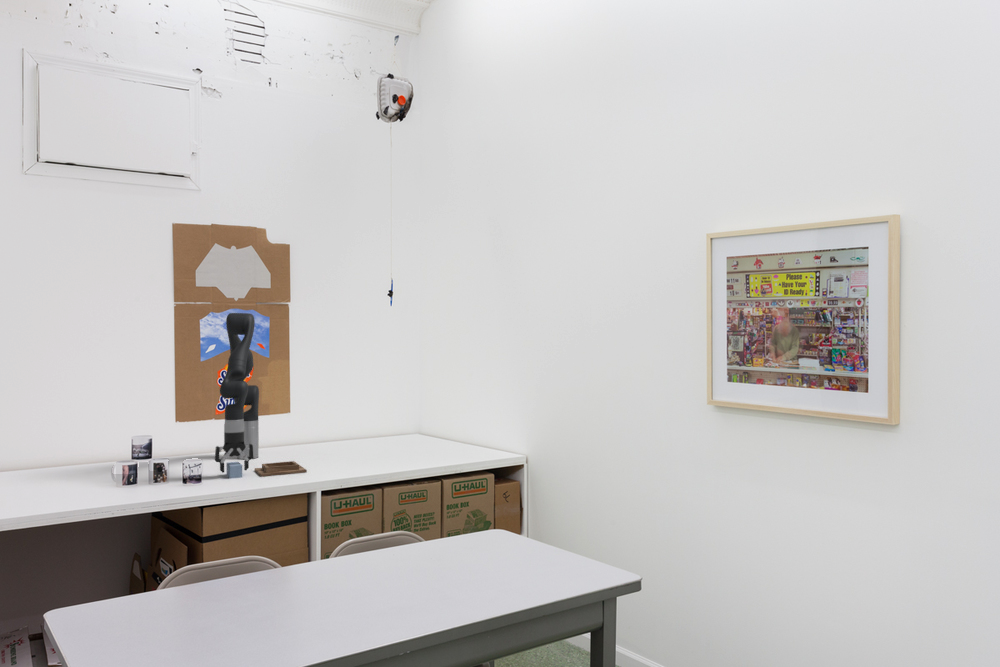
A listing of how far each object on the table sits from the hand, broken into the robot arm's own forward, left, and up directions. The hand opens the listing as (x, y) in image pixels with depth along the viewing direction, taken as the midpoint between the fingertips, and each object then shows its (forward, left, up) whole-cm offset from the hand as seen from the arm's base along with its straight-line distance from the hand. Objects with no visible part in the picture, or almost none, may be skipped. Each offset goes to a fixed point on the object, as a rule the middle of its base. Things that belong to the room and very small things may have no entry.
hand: (234, 471), depth 281 cm
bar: (0, 0, -2) cm, 2 cm away
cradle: (0, +18, -2) cm, 18 cm away
